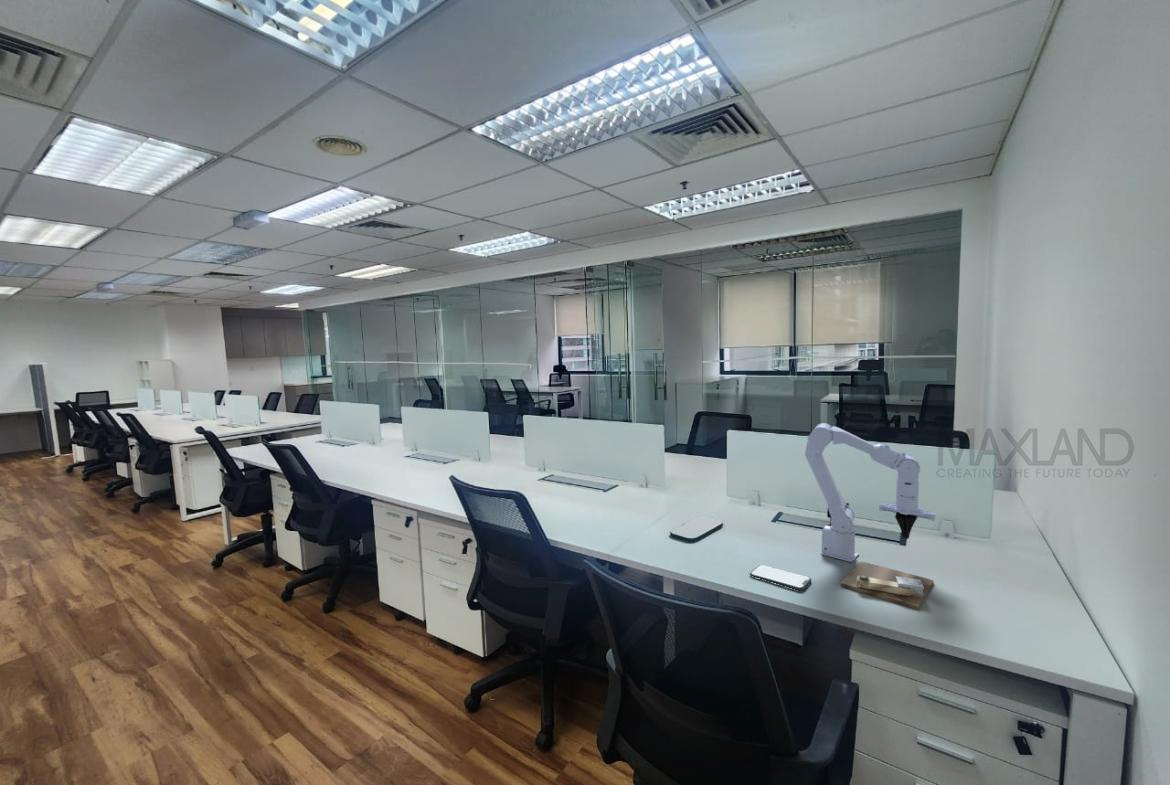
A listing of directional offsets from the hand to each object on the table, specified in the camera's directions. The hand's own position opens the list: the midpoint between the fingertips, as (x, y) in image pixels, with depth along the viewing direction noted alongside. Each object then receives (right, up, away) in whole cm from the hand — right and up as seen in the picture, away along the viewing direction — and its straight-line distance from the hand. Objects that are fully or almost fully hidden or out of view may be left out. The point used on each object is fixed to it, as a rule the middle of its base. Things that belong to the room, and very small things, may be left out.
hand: (905, 537), depth 151 cm
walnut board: (-12, -11, -10) cm, 19 cm away
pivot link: (-16, -10, -15) cm, 24 cm away
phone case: (-41, -12, -4) cm, 43 cm away
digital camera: (-1, -6, +39) cm, 39 cm away
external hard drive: (-57, -9, +36) cm, 68 cm away
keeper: (-10, -10, -17) cm, 23 cm away
